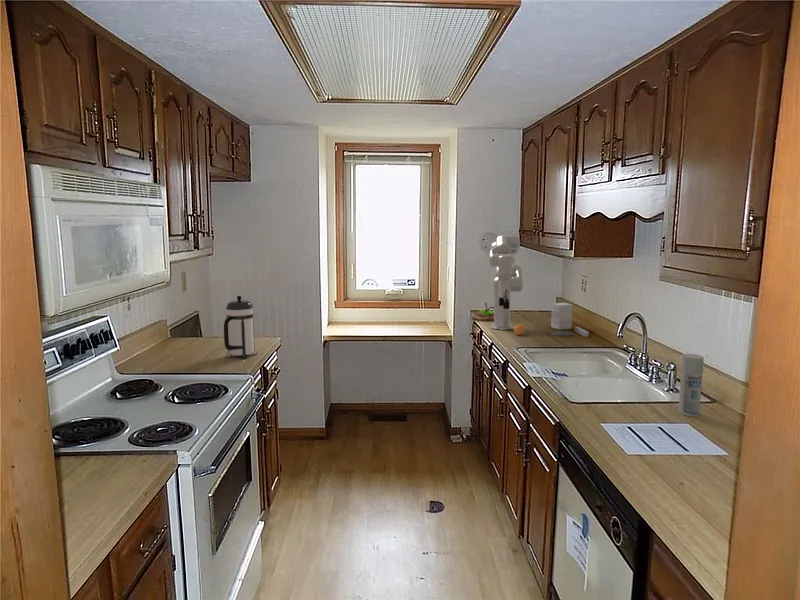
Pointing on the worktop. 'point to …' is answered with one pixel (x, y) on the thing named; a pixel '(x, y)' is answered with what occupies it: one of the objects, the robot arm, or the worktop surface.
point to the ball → (519, 329)
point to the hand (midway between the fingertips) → (504, 307)
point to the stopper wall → (581, 331)
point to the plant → (484, 315)
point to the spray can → (690, 384)
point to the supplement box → (561, 316)
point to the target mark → (562, 333)
